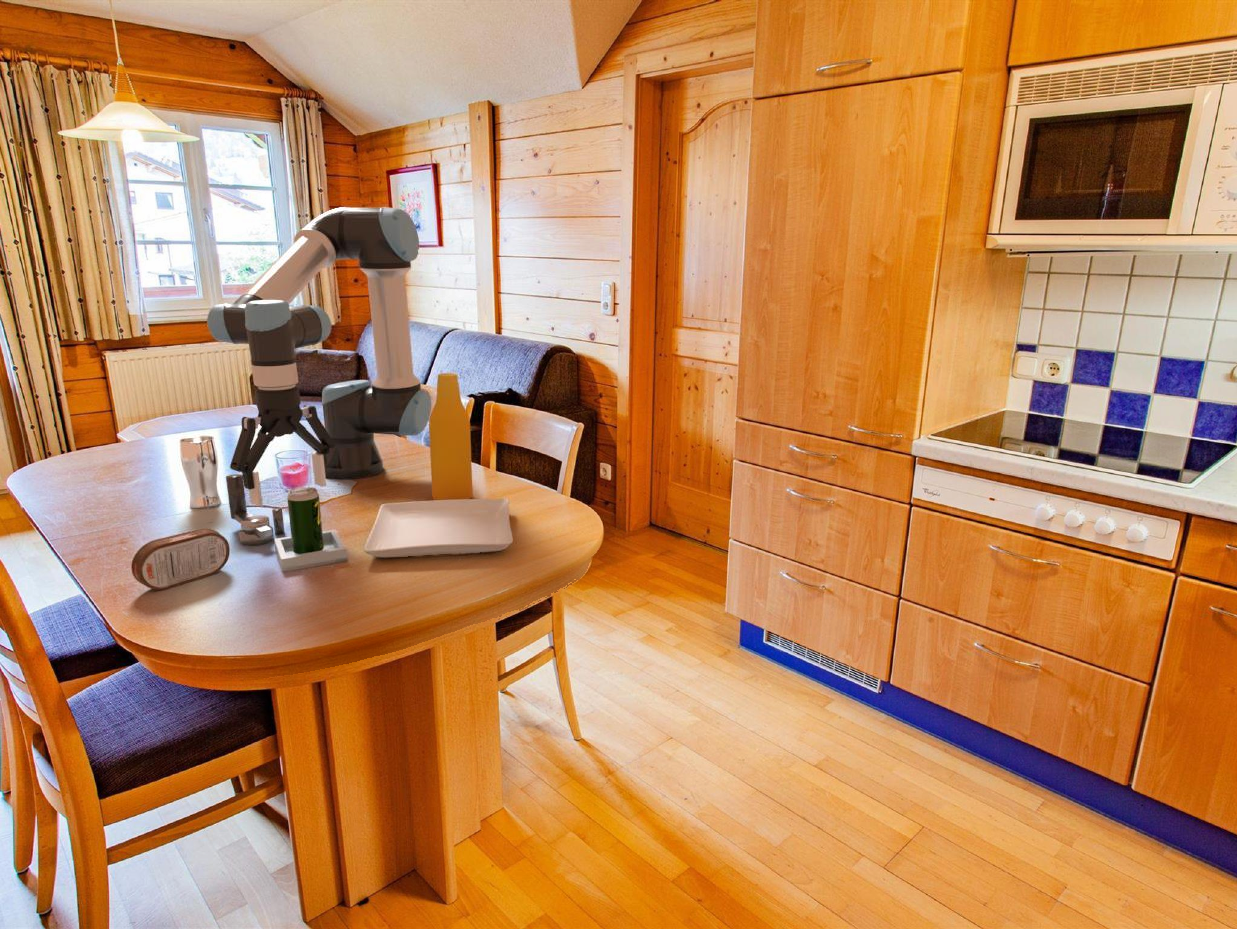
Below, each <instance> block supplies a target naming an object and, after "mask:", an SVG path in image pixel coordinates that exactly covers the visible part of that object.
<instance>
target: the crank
mask: <svg viewBox="0 0 1237 929" xmlns="http://www.w3.org/2000/svg"><path fill="white" fill-rule="evenodd" d="M225 480H226V481H225V482H226V488H227V497H228V504H229V505H228V506H229V511H230V512H229V513H230V519H232V520H235V521H237V523H239V524H240V528H241V529H240V530H242V532H245V533H256V534H257V535H259V536H260V537H266V536H270V535H272V529H271V528H270V526H271V525H270V518H269V516H266V515H253V514H252V513H250V512H249V511H247V510H248V509H247V502H246V501H247V500H246V494H245V493H246V492H245V487H244V482H243V475H242V473H241V474H240V473H238V474H237V473H235V474H229V475H226V477H225Z"/></svg>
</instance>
